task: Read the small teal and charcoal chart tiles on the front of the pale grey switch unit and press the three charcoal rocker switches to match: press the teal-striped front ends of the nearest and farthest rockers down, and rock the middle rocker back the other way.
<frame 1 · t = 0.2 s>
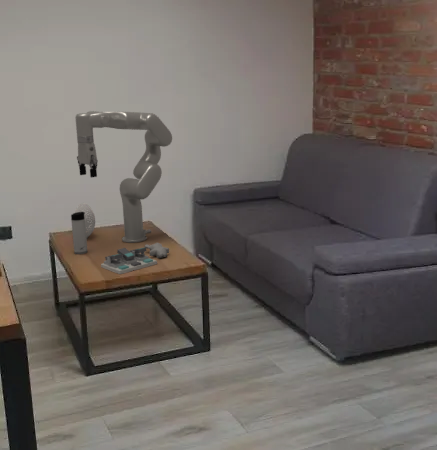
hand: (88, 175, 329), 37 cm above the table, tool pointing down, fingers open, 9 cm apart
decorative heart: (86, 237, 363), on the table
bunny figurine: (157, 255, 326), on the table
rocker middle: (126, 253, 311), point 5 cm above the table, hinge at -15.0°
travel mug: (81, 253, 334), on the table
switch unit: (129, 265, 311), on the table
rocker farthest: (113, 257, 307), point 5 cm above the table, hinge at 15.0°
rocker nearest: (137, 250, 315), point 5 cm above the table, hinge at 15.0°
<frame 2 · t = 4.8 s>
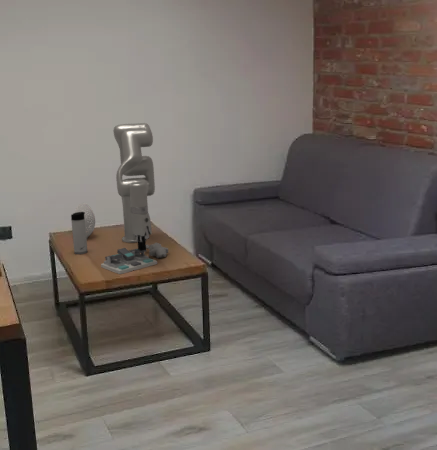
hand: (142, 249, 312), 6 cm above the table, tool pointing down, fingers closed
rocker nearest: (137, 250, 315), point 5 cm above the table, hinge at 13.0°, touching gripper
everything else where it was.
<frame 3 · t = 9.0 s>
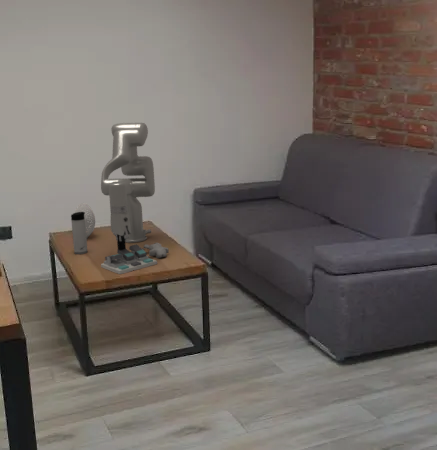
hand: (121, 249, 313), 7 cm above the table, tool pointing down, fingers closed
rocker middle: (126, 253, 311), point 5 cm above the table, hinge at -15.0°, touching gripper
rocker nearest: (137, 250, 315), point 5 cm above the table, hinge at -19.6°
everything else where it was.
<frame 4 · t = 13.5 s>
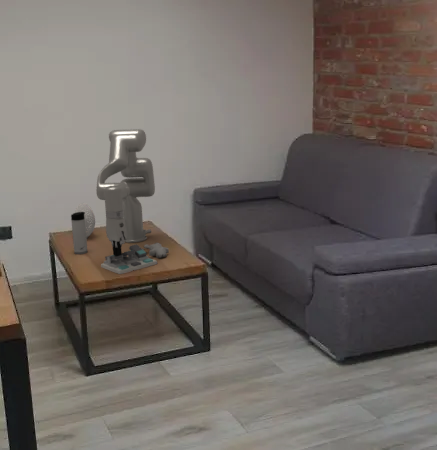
hand: (117, 255, 304), 7 cm above the table, tool pointing down, fingers closed
rocker middle: (125, 253, 311), point 5 cm above the table, hinge at 20.2°
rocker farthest: (113, 257, 307), point 5 cm above the table, hinge at 14.3°, touching gripper
everything else where it was.
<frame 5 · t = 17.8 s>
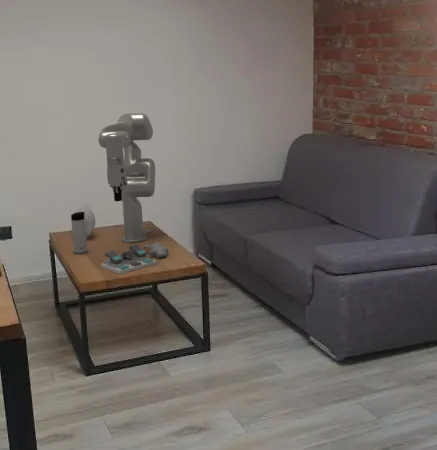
hand: (118, 200, 317), 27 cm above the table, tool pointing down, fingers closed
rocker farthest: (113, 257, 307), point 5 cm above the table, hinge at -16.9°
everything else where it was.
at the end: rocker nearest at -20° (first picture: +15°); rocker middle at +20° (first picture: -15°); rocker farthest at -17° (first picture: +15°) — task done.
